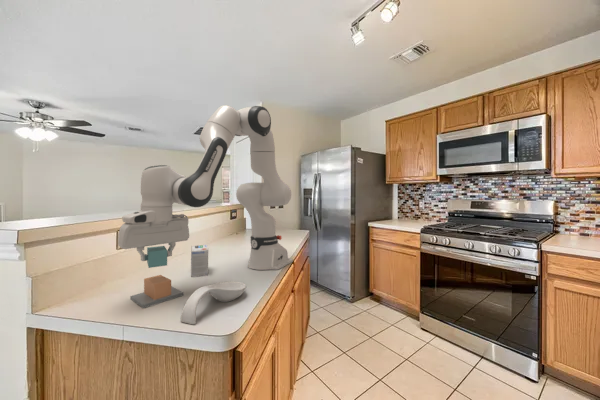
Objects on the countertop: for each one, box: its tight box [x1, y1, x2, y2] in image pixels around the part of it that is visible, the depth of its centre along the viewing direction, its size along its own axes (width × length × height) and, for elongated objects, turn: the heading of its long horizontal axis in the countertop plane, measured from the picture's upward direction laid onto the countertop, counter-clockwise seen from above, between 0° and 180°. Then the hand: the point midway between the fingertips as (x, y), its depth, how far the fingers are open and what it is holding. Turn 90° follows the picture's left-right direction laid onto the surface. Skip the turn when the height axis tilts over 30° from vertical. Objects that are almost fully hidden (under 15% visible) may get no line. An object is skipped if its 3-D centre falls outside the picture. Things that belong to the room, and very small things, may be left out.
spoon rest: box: [180, 280, 247, 325], centre depth 75 cm, size 24×12×7 cm, turn 162°
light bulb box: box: [190, 244, 209, 278], centre depth 105 cm, size 11×7×11 cm, turn 23°
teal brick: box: [146, 245, 168, 269], centre depth 79 cm, size 5×8×5 cm, turn 35°
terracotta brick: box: [143, 274, 172, 300], centre depth 80 cm, size 5×8×5 cm, turn 52°
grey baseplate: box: [129, 285, 185, 309], centre depth 80 cm, size 12×10×1 cm
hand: (156, 258), depth 79 cm, fingers closed on teal brick, 6 cm apart
